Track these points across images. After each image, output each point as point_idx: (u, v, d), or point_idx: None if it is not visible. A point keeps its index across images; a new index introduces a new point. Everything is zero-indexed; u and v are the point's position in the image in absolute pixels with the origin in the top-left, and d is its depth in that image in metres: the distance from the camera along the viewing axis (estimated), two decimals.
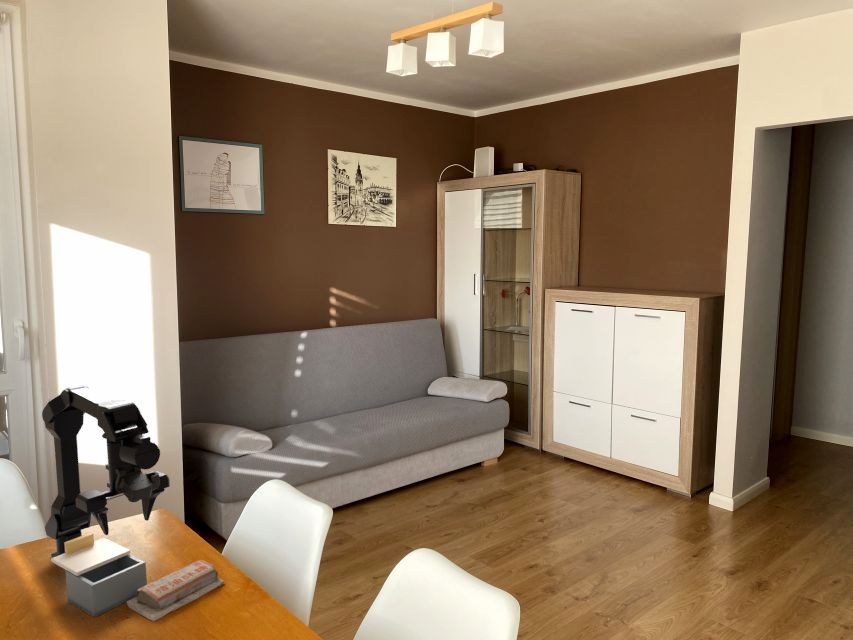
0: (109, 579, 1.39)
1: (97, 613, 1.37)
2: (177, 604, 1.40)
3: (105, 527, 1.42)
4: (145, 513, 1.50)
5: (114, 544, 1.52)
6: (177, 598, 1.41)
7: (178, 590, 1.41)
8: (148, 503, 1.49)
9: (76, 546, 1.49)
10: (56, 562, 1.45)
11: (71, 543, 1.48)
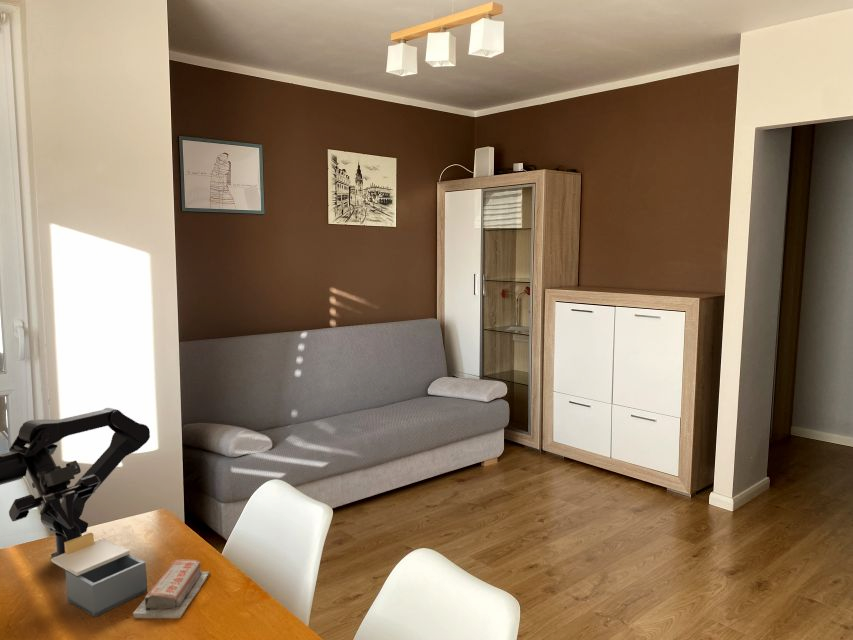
0: (109, 579, 1.39)
1: (97, 613, 1.37)
2: (188, 599, 1.42)
3: (65, 519, 1.51)
4: None
5: (114, 544, 1.52)
6: (186, 594, 1.43)
7: (185, 586, 1.43)
8: (66, 509, 1.52)
9: (76, 546, 1.49)
10: (56, 562, 1.45)
11: (71, 543, 1.48)
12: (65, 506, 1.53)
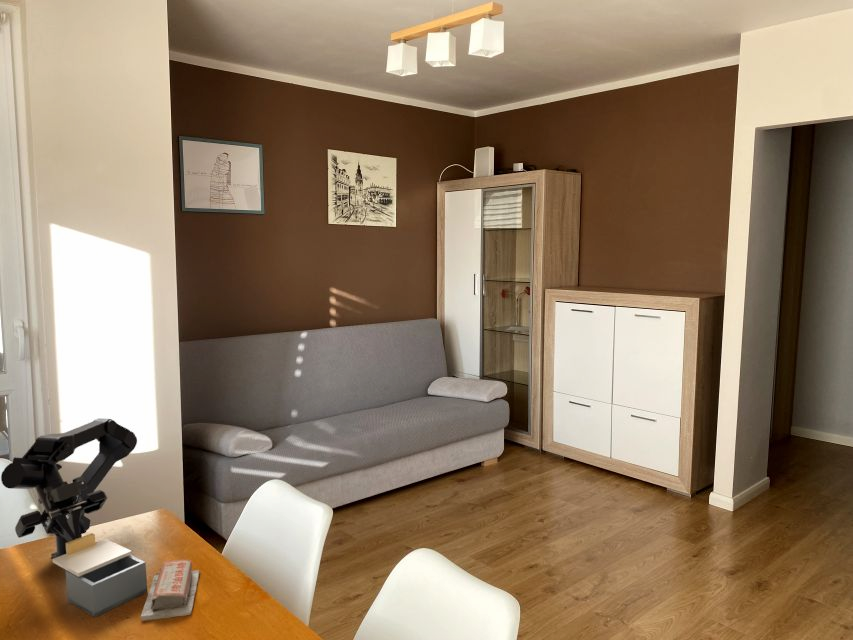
0: (109, 579, 1.39)
1: (97, 613, 1.37)
2: (192, 596, 1.43)
3: (71, 535, 1.50)
4: None
5: (115, 545, 1.52)
6: (188, 592, 1.43)
7: (187, 584, 1.44)
8: (73, 525, 1.51)
9: (77, 547, 1.49)
10: (57, 563, 1.44)
11: (72, 544, 1.48)
12: (71, 522, 1.52)
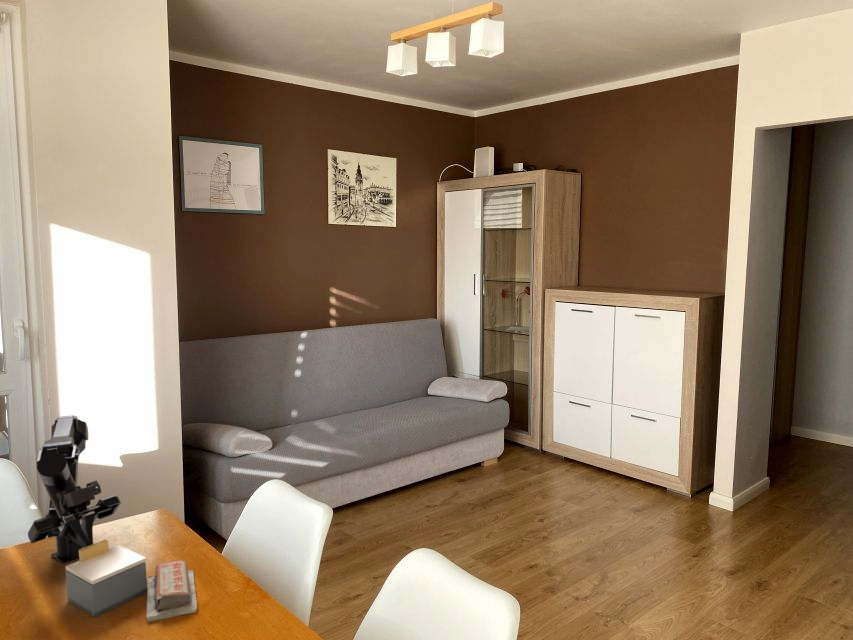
0: (109, 579, 1.39)
1: (97, 613, 1.37)
2: (194, 594, 1.44)
3: (85, 541, 1.46)
4: None
5: (129, 551, 1.48)
6: None
7: (188, 583, 1.44)
8: (86, 531, 1.48)
9: (91, 553, 1.45)
10: (71, 570, 1.41)
11: (86, 550, 1.44)
12: (85, 527, 1.48)
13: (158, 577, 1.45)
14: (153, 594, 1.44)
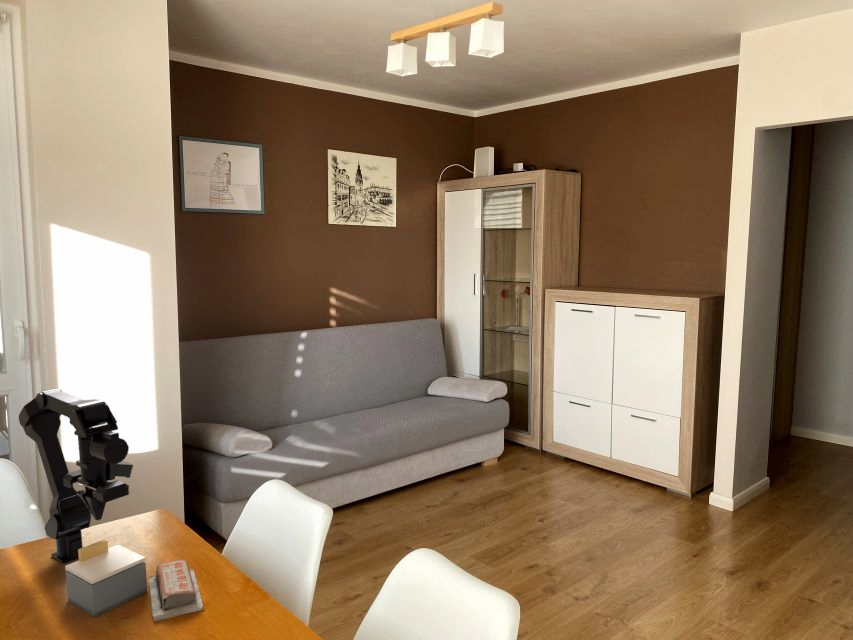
0: (109, 579, 1.39)
1: (97, 613, 1.37)
2: (198, 593, 1.44)
3: None
4: None
5: (129, 551, 1.49)
6: None
7: (192, 582, 1.45)
8: None
9: (90, 553, 1.46)
10: (70, 570, 1.41)
11: (85, 550, 1.45)
12: None
13: (161, 577, 1.45)
14: (156, 594, 1.44)
